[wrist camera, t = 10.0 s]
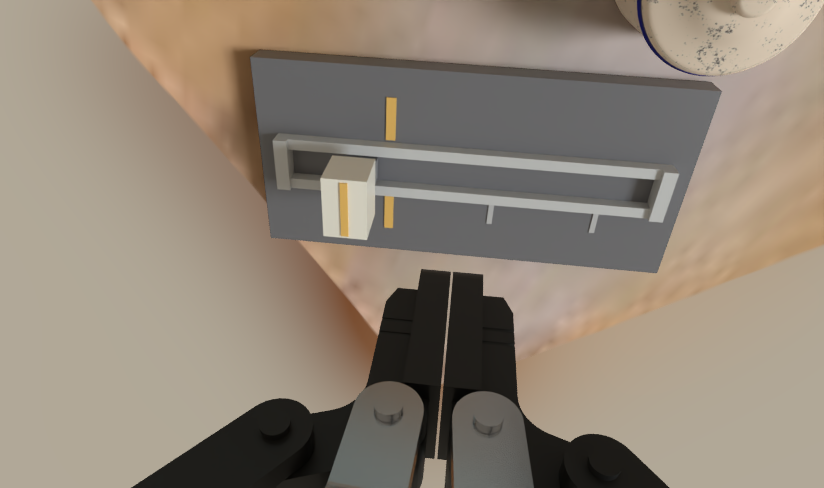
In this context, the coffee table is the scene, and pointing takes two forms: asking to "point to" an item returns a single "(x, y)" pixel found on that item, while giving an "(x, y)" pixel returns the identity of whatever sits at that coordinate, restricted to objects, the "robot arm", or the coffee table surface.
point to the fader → (349, 196)
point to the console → (484, 155)
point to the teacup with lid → (718, 31)
